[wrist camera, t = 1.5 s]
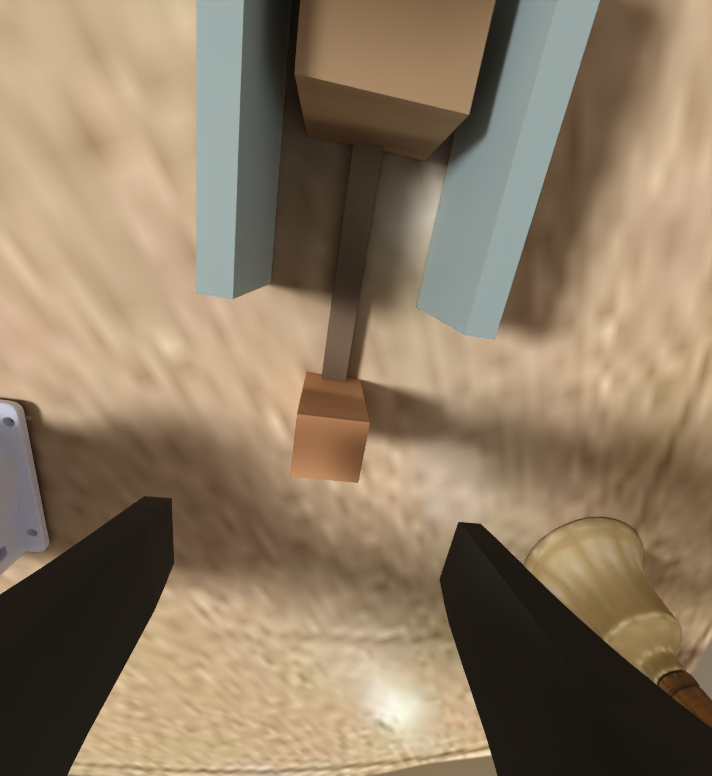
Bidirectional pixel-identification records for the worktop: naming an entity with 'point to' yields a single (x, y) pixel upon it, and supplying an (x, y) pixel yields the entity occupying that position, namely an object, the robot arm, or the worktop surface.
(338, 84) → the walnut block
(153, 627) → the worktop surface
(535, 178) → the lane shelf
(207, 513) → the worktop surface
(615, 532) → the hand bell
